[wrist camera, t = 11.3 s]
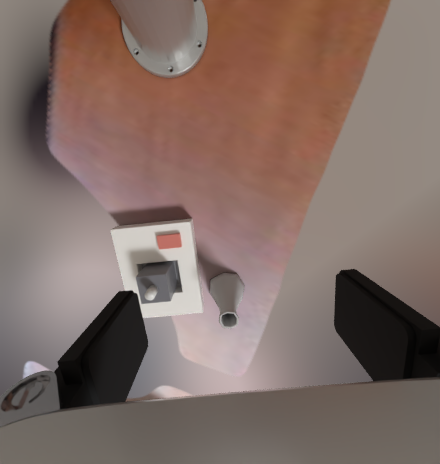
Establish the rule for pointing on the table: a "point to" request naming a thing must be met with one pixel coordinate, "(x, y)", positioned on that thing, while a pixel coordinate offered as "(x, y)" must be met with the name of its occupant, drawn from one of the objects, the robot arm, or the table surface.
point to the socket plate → (158, 250)
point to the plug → (157, 282)
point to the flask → (227, 297)
